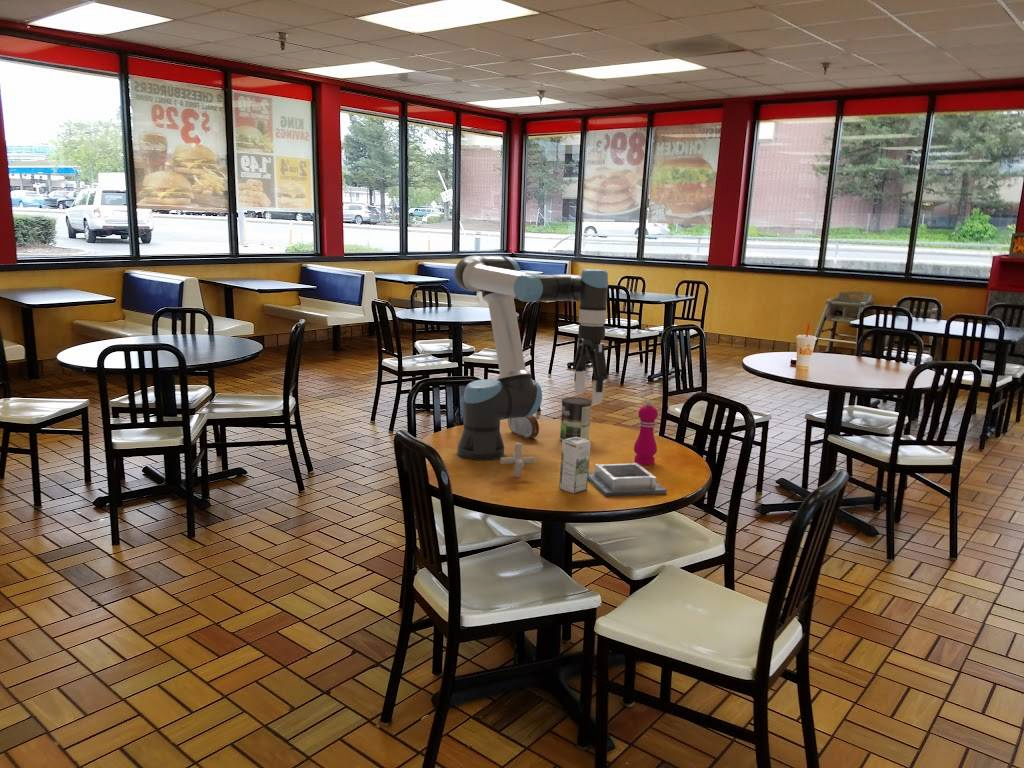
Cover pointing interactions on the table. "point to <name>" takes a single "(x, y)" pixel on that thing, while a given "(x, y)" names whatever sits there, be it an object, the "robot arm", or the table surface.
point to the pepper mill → (646, 435)
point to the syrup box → (574, 464)
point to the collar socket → (624, 480)
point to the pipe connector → (517, 459)
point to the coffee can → (575, 418)
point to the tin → (524, 426)
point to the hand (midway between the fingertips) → (588, 398)
